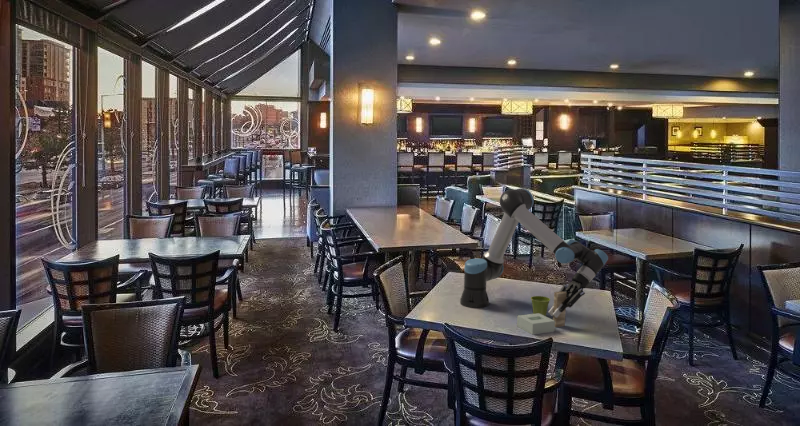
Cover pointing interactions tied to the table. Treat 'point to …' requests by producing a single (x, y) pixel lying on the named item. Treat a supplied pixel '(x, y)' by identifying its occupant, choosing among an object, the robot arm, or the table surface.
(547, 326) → the end cap
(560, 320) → the slat
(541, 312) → the plant pot
